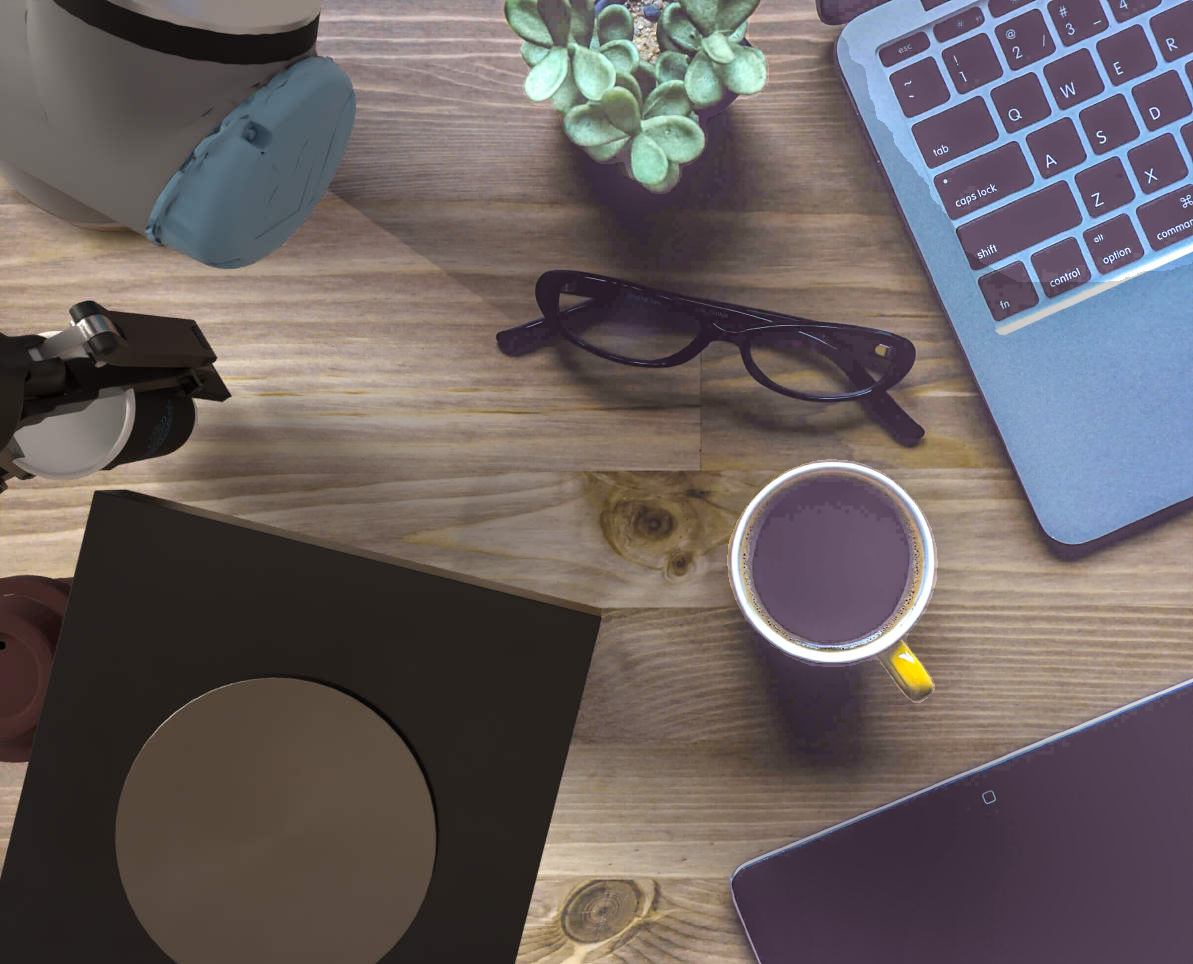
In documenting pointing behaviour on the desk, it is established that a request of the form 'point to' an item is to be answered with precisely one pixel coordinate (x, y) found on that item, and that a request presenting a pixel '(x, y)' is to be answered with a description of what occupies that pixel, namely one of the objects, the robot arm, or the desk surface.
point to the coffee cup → (27, 655)
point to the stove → (286, 752)
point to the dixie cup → (107, 433)
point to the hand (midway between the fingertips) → (159, 415)
